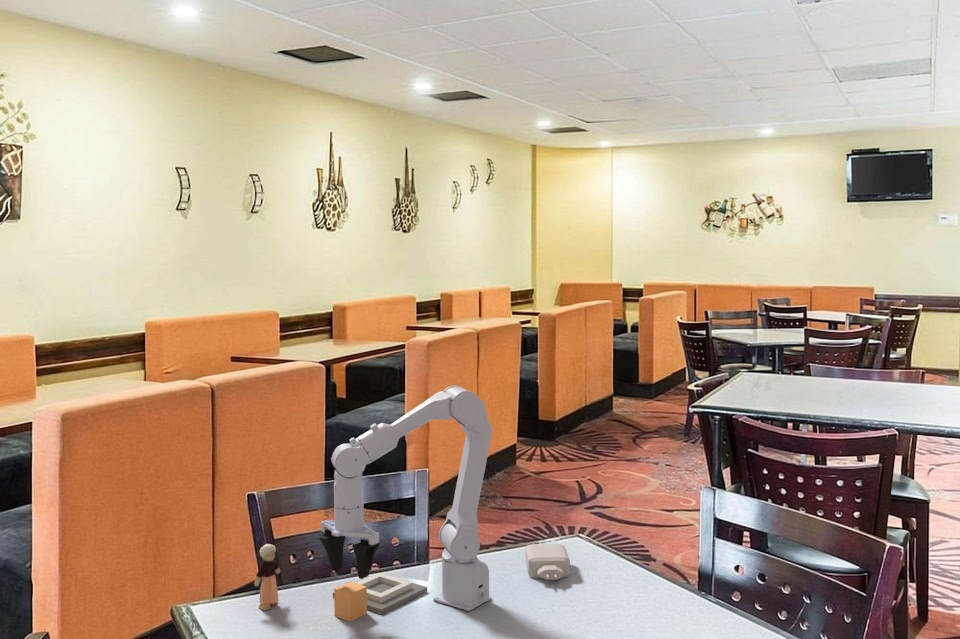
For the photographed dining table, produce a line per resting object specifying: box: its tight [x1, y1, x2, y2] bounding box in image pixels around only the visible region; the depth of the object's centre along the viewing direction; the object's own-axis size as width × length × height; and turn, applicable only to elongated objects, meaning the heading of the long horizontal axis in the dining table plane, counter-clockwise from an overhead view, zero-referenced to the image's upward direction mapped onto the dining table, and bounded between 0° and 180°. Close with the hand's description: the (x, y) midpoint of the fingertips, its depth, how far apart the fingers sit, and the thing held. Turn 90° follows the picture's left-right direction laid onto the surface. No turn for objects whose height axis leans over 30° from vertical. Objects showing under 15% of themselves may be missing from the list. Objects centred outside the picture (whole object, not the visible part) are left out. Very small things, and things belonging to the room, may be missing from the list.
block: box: [333, 581, 368, 622], centre depth 159 cm, size 4×4×6 cm
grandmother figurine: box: [253, 543, 281, 611], centre depth 164 cm, size 8×4×13 cm, turn 168°
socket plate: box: [332, 572, 428, 615], centre depth 169 cm, size 14×14×2 cm
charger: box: [525, 543, 571, 581], centre depth 179 cm, size 5×9×15 cm
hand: (350, 572), depth 159 cm, fingers open, 7 cm apart
